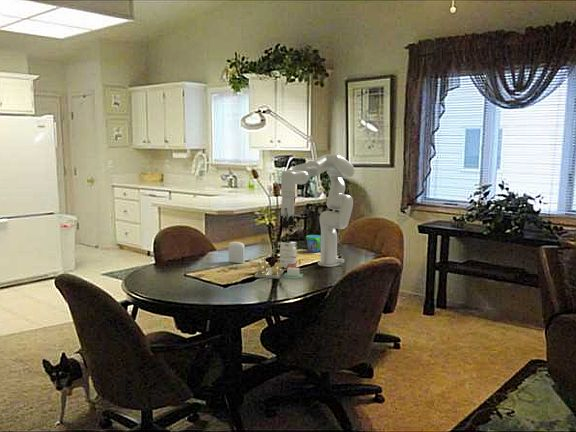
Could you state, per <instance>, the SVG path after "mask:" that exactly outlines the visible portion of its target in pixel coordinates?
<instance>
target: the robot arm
mask: <svg viewBox="0 0 576 432" xmlns="http://www.w3.org/2000/svg"><path fill="white" fill-rule="evenodd" d="M324 172H327V175H328V177H329V180H330V187H329V188H330V189H329V192H328V196H327V199H326V206H327V208H328V209H330V210H325V211H323V212H321V214H320V215H319V226H320V236H321V247H320V260H319V261H317V264H318V266H320V267H326V268H327V267H329V268H330V267H331V268H332V267H338V266H340V263H345V258H339V257H338V232H337V230H344V229H346V228H348V225H349V222H350V219H351V215H352V211H353V207H354V199H353V197H352V196H351V195H349V194H346V193H345V191H346V184H345V180H344V179H350V178H352V177H353V176H354V174H355V167H354V165H353V164H352V163H351V162H350V161H349V160H347V159H346V158H345V157H343V156H342V155H340V154H324V155H323V154H322V155H321V156H319V157H317V158H315V159H313V160H311V161H308V162H303V163H300V164H297V165H294V166H292V167H289V168H288V169H286V170H284V171H282V172H281V176H280V177H281V178H280V179H281V184H280V185H281V187H280V189H281V191H280V192H281V193H280V194H281V195H280V197H281V198H282V199H281V205H280V206H281V207H280V209H281V210H280V216H281V217H282V228H283V229H289V226H294V225H295V224H294V222H295V221H294V215H295V198H296V193H297V192H296V191H297V190H296V187H297V185H305V184H307V183H308V182H309V179H310V178H311V177H315V176H319V175H321V174H323V173H324ZM332 210H334V211H332Z"/></svg>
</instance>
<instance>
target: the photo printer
mask: <svg viewBox="0 0 576 432" xmlns="http://www.w3.org/2000/svg"><path fill="white" fill-rule="evenodd" d="M227 247H228V249H227V250H228V262H229V263H236V264H245V262H246V261H245V260H246V259H245V258H246V255H245V254H246V253H245V252H246V250H245V248H246V247H245V243H243V242H240V241H231V242H229V243H228V246H227Z"/></svg>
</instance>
